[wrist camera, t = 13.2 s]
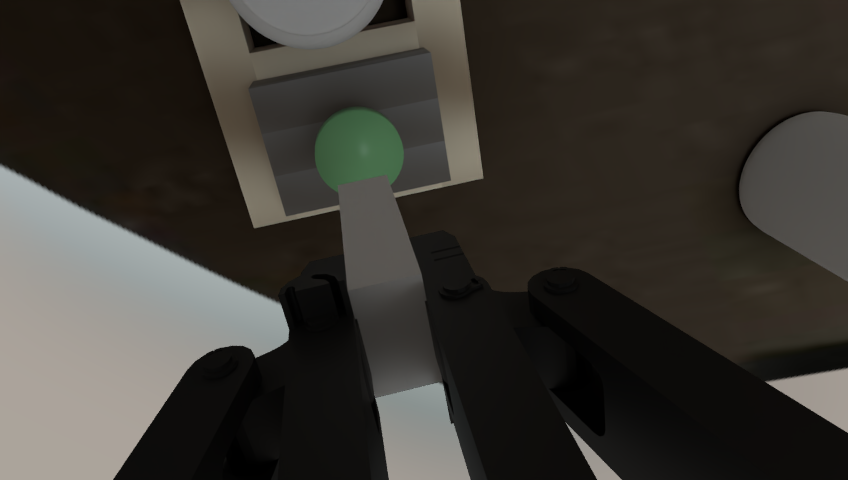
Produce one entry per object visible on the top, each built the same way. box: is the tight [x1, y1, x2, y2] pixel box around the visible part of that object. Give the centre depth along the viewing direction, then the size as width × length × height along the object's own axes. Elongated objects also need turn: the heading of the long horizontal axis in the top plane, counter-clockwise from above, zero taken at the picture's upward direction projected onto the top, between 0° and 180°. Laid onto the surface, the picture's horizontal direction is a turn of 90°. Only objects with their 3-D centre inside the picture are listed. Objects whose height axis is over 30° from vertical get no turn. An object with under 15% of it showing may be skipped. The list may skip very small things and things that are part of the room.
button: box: [315, 107, 404, 192], centre depth 25 cm, size 4×4×3 cm
